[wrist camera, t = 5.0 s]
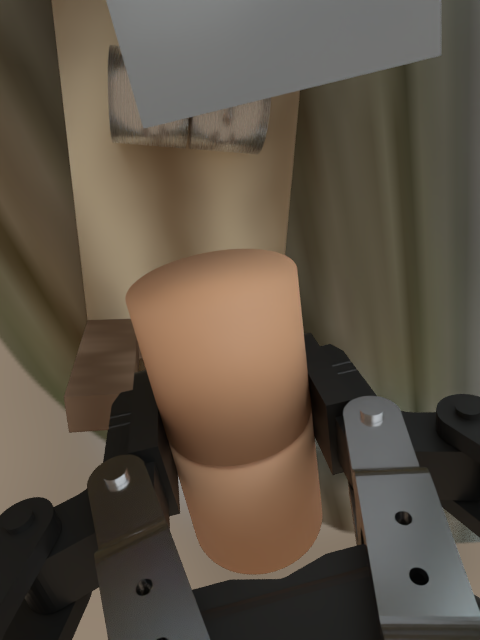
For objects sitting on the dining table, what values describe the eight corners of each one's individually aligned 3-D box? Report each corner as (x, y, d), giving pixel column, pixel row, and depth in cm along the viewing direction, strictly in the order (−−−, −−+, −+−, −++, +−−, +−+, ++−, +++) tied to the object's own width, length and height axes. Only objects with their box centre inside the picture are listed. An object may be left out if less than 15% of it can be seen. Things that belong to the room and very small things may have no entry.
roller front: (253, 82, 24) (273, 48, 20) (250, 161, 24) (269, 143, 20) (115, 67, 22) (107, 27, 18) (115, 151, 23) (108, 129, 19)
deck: (324, -256, 19) (449, -517, 11) (273, 334, 31) (314, 414, 23) (20, -316, 17) (-100, -692, 9) (92, 341, 29) (69, 432, 21)
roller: (109, 281, 11) (153, 342, 8) (247, 238, 13) (333, 276, 9) (177, 498, 15) (227, 602, 12) (279, 448, 16) (350, 528, 13)
